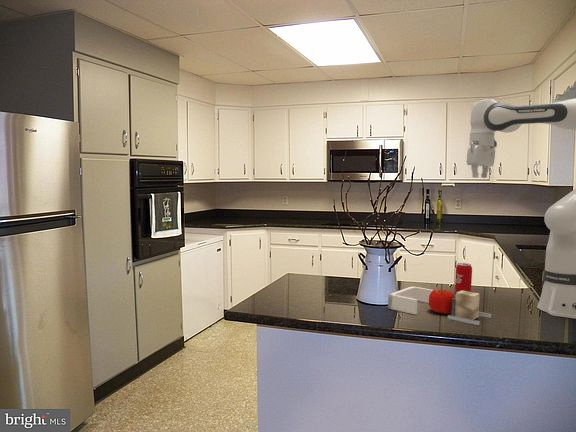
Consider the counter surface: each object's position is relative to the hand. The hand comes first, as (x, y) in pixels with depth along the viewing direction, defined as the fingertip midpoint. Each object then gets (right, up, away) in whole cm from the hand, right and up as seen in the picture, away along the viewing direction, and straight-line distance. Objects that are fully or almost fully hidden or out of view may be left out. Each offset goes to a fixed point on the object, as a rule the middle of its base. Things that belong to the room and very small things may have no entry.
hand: (479, 177), depth 187 cm
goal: (-29, -48, -14) cm, 58 cm away
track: (-14, -49, -27) cm, 58 cm away
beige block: (-15, -49, -26) cm, 57 cm away
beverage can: (-4, -47, +8) cm, 47 cm away
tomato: (-22, -49, -20) cm, 57 cm away
